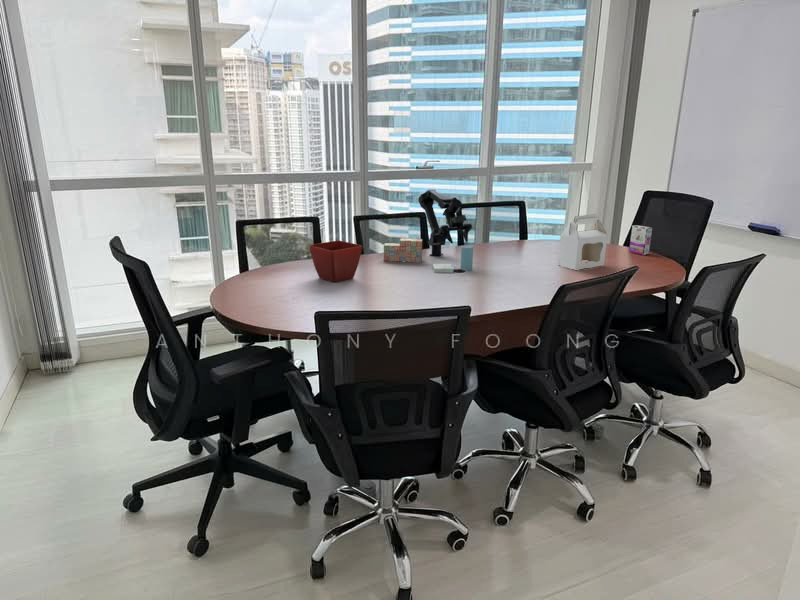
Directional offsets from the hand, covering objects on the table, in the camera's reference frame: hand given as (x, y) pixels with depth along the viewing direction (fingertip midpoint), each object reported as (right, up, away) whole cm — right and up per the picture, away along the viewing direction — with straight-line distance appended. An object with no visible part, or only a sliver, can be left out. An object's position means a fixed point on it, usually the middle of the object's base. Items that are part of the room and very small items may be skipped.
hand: (459, 242), depth 309 cm
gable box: (+67, -13, +6) cm, 69 cm away
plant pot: (-64, -20, -22) cm, 71 cm away
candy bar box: (+112, -3, +36) cm, 118 cm away
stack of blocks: (-31, -9, +14) cm, 35 cm away
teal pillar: (+3, -15, -3) cm, 15 cm away
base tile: (-10, -15, -5) cm, 19 cm away
